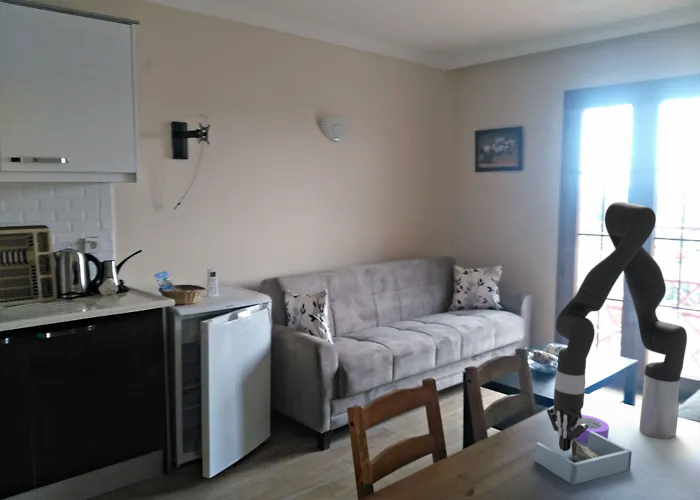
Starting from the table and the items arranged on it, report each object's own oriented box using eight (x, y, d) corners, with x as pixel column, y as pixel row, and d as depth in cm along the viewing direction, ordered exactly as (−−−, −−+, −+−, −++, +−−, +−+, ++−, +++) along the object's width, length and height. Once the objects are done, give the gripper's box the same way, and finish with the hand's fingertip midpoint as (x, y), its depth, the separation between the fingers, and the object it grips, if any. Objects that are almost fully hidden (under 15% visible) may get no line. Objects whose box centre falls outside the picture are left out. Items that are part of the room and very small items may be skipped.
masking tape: (612, 434, 173) (613, 422, 173) (601, 448, 164) (602, 435, 163) (572, 423, 180) (573, 411, 180) (559, 435, 171) (560, 423, 171)
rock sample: (614, 458, 149) (589, 430, 152) (592, 478, 149) (566, 449, 152) (605, 458, 159) (581, 431, 162) (584, 476, 158) (560, 449, 162)
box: (590, 447, 163) (591, 430, 163) (630, 469, 152) (631, 451, 151) (534, 460, 155) (536, 442, 154) (572, 484, 143) (574, 465, 142)
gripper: (599, 394, 152) (593, 458, 154) (561, 378, 164) (556, 437, 166) (578, 398, 149) (572, 463, 151) (540, 381, 160) (536, 441, 163)
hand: (564, 449), depth 158 cm, fingers closed
